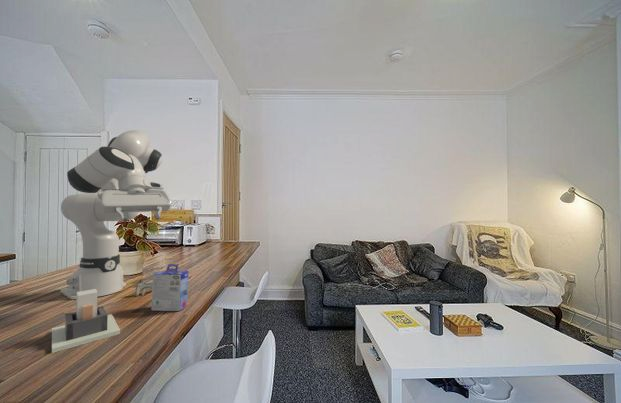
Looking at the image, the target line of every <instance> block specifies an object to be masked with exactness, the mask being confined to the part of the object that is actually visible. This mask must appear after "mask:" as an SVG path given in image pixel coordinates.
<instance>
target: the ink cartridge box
mask: <svg viewBox="0 0 621 403" xmlns="http://www.w3.org/2000/svg"><path fill="white" fill-rule="evenodd" d="M172 267H175V268H172ZM178 268H179V264H177V263H176V264H175V263H174V264H173V263H169V264H168V265H167V267H166V270H160V271H157V272H155V273H153V274H152V281H151V282H152V289H151V306H150V307H151V311H152V312H153V311H154V312H155V311H157V312H158V311H159V312H161V311H162V312H180V311H182V310H183V309H185V308H186V307H188V304H189V300H188V298H189V270H179V269H178Z"/></svg>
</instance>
